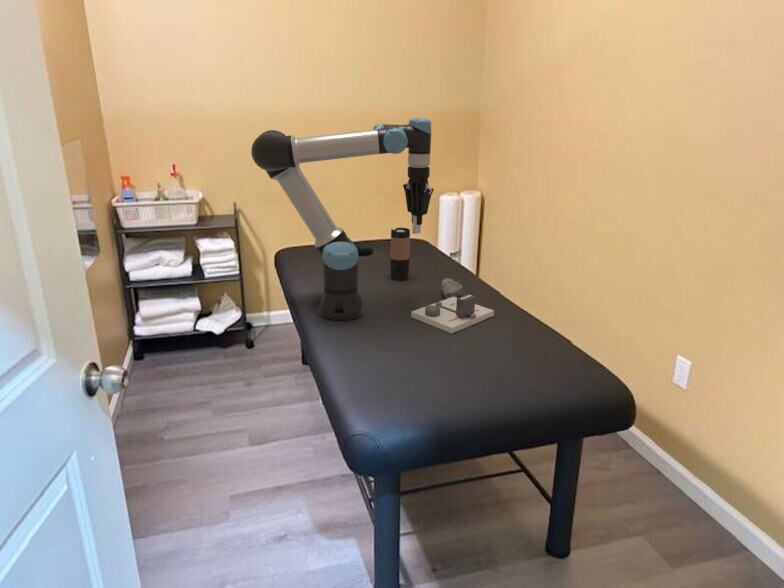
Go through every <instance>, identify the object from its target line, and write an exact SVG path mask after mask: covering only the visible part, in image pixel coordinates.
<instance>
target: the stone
mask: <svg viewBox="0 0 784 588" xmlns="http://www.w3.org/2000/svg"><path fill="white" fill-rule="evenodd" d="M463 290H464V287H463V286H462V284H460V282H458V281H454V280H453V279H452V278H448V277H445V278H444V279H443V280H442V282H441V292H442V294H443V297H444V298H445V299H448V298H451V297H456V298H459V297H461V295H463V292H464V291H463Z"/></svg>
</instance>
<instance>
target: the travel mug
mask: <svg viewBox="0 0 784 588" xmlns="http://www.w3.org/2000/svg"><path fill="white" fill-rule="evenodd" d="M410 242H411V229H410V228H406V227H396V228H395V229H393V228H391V229H390V258H389V259H390V263H389V264H390V265H389V266H390V279H392V280H393V281H399V282H400V281H406V280H408V279H409V270H410V254H411V253H410V247H411V243H410Z"/></svg>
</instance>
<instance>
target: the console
mask: <svg viewBox="0 0 784 588" xmlns="http://www.w3.org/2000/svg"><path fill="white" fill-rule="evenodd" d="M457 298H458V297H451V298H448V299H446V298H445V299H443V300H440V301H438V302H435V303H432V304H429V305H427V306H424V307H420V308H418V309H415V310H412V311H411V314H410V317H411V318H413V319H414V320H417V321H420V322H422V323H425V324H427V325H429V326H432V327H435V328H437V329H440V330H442V331H443V332H444V331H445V332H447V333H449V334H454V333H457V332H459V331H461V330H464V329H466V328H469V327H471V326H473V325H475V324H478V323H480V322H483V321H485V320H487V318H488V319H490V318H492V317H494V314H495V310H493V309H490V308H487V307H484V306H482V305H478V304H476V303H475V310H474V314H471V315H469V316H466V317H464V318H462V317H459V316H457V315H456V304H457ZM489 317H490V318H489Z"/></svg>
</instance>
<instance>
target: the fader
mask: <svg viewBox="0 0 784 588" xmlns="http://www.w3.org/2000/svg"><path fill="white" fill-rule="evenodd" d="M456 298H457V304H456V315H457V316H459V317H462V318H464V317H466V316H469V315H471V314H474V310H475V304H476V296H474V295H472V294H469V293H468V294H465V295H463V296H458V297H456Z"/></svg>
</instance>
